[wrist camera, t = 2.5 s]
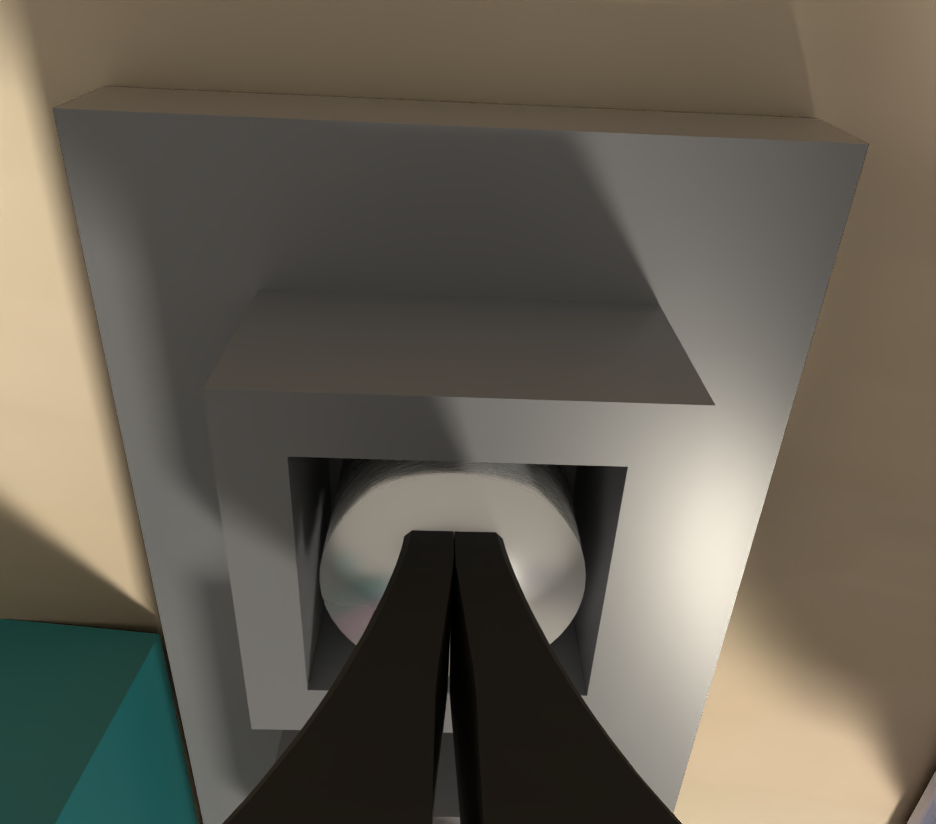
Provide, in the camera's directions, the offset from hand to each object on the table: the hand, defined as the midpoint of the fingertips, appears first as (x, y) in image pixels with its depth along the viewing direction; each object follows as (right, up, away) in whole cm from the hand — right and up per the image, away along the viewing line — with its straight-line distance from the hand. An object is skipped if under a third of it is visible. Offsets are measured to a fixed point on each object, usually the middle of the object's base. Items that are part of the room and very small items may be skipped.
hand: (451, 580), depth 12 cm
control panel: (0, -5, +9) cm, 10 cm away
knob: (0, +1, +3) cm, 3 cm away
